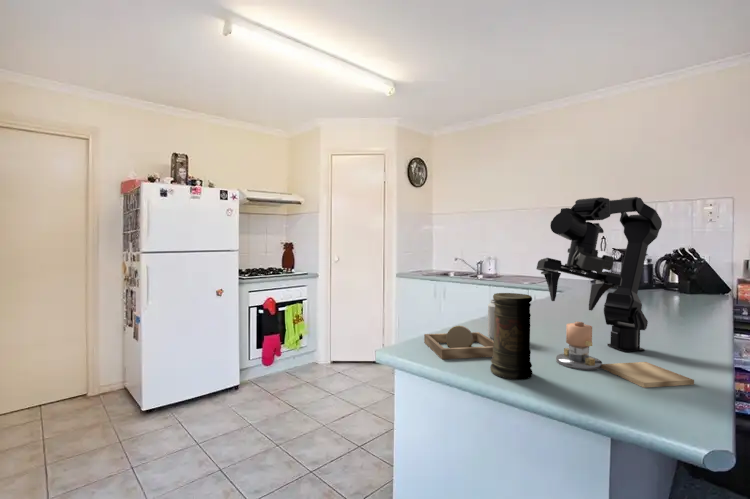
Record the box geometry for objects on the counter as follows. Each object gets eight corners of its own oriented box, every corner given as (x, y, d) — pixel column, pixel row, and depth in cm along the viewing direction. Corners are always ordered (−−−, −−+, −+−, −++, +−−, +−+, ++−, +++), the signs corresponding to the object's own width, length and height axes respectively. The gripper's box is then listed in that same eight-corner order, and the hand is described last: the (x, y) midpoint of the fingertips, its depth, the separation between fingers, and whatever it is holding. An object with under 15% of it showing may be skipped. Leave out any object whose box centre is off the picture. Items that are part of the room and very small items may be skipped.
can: (509, 336, 121) (510, 298, 121) (516, 342, 114) (516, 302, 114) (485, 335, 122) (485, 298, 122) (490, 341, 115) (490, 301, 114)
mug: (476, 345, 111) (481, 320, 106) (465, 368, 104) (469, 342, 99) (452, 336, 114) (455, 311, 109) (439, 358, 107) (442, 332, 102)
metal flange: (582, 356, 100) (583, 337, 100) (612, 369, 90) (612, 348, 90) (547, 358, 99) (548, 338, 98) (573, 371, 89) (573, 350, 89)
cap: (578, 338, 99) (578, 318, 99) (601, 347, 91) (601, 325, 91) (558, 339, 98) (558, 319, 98) (579, 348, 90) (580, 326, 90)
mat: (645, 365, 93) (645, 361, 93) (694, 384, 81) (694, 379, 81) (601, 368, 91) (601, 364, 91) (643, 387, 79) (644, 382, 79)
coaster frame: (478, 340, 116) (478, 332, 116) (504, 356, 100) (504, 346, 100) (424, 342, 113) (424, 334, 113) (441, 359, 97) (441, 349, 97)
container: (486, 366, 92) (487, 292, 92) (523, 366, 92) (524, 292, 91) (496, 380, 83) (497, 297, 83) (538, 380, 83) (539, 298, 82)
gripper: (558, 231, 90) (545, 296, 88) (640, 250, 88) (629, 316, 87) (541, 239, 101) (529, 296, 99) (614, 255, 99) (603, 314, 98)
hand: (571, 305), depth 95 cm, fingers open, 9 cm apart
